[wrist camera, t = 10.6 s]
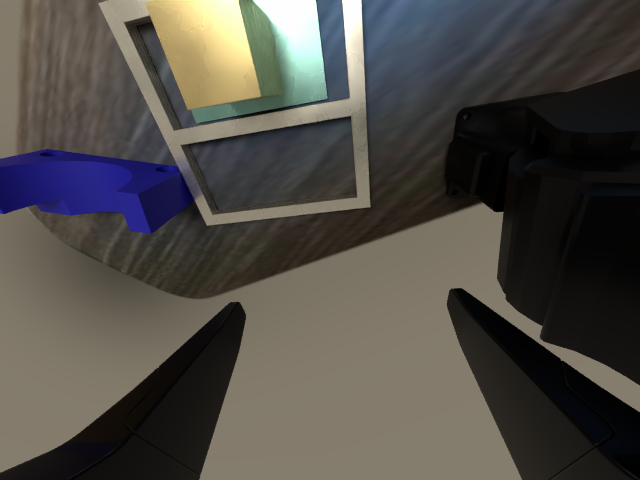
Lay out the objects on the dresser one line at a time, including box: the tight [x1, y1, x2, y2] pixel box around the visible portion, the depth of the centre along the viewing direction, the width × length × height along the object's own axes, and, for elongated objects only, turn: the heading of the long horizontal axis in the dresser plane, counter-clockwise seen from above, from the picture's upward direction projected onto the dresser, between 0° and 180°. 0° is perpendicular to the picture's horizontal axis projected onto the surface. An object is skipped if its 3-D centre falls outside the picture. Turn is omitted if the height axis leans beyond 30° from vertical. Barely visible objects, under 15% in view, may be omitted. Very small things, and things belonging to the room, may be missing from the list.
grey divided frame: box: [98, 0, 370, 226], centre depth 17 cm, size 15×15×1 cm
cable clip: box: [0, 149, 195, 234], centre depth 18 cm, size 12×4×6 cm, turn 83°
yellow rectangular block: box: [145, 0, 283, 110], centre depth 13 cm, size 4×4×6 cm
